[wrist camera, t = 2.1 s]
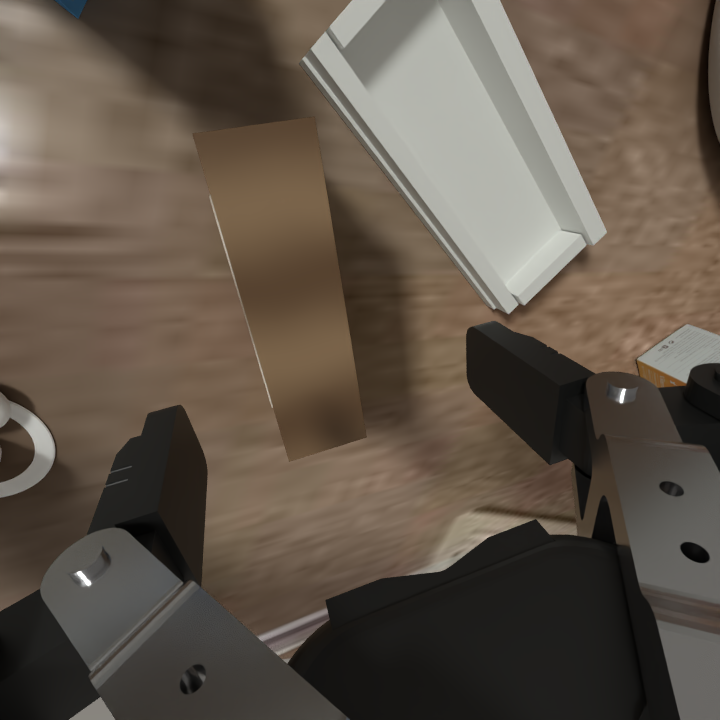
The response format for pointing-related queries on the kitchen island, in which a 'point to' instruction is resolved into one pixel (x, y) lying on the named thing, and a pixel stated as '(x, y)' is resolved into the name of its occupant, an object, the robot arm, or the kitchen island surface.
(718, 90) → the bowl
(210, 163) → the oak frame
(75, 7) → the perfume bottle
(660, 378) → the small box
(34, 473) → the teacup and saucer
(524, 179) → the frame
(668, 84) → the kitchen island surface
